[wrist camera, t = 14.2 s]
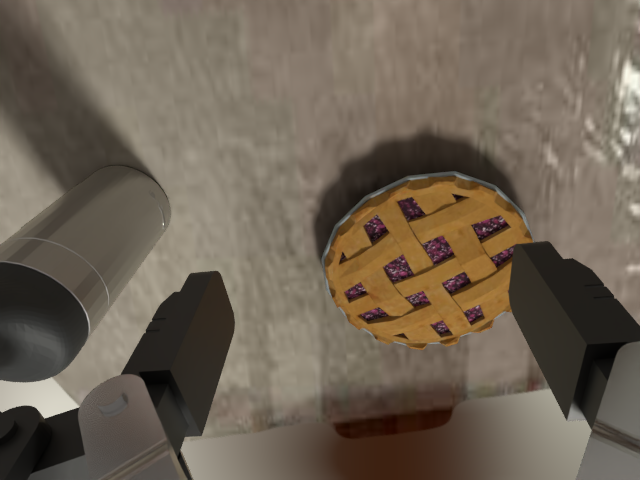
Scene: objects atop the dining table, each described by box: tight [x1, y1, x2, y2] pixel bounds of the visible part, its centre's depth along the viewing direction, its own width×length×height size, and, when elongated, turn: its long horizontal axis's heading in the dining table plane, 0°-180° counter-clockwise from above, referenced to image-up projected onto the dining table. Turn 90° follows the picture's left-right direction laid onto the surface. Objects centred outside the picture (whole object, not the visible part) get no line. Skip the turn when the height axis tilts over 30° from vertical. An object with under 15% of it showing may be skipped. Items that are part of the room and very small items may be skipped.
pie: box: [321, 171, 535, 350], centre depth 45 cm, size 22×22×5 cm
